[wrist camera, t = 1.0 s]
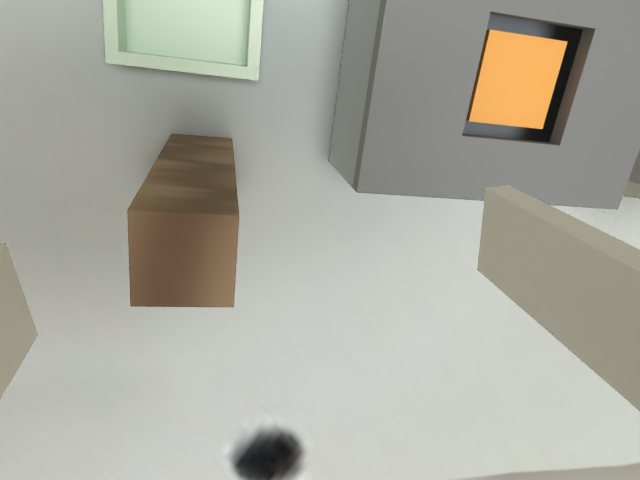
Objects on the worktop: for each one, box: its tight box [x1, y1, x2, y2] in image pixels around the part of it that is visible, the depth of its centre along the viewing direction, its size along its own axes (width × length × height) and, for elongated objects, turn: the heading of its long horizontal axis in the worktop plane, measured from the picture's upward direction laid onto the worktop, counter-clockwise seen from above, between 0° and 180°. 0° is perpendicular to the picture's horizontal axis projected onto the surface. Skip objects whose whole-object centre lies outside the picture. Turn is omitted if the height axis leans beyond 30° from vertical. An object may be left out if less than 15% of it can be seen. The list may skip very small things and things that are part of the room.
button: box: [466, 30, 568, 129], centre depth 28 cm, size 5×5×2 cm
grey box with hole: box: [329, 0, 640, 209], centre depth 30 cm, size 18×14×8 cm
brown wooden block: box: [127, 134, 239, 307], centre depth 25 cm, size 4×4×16 cm
